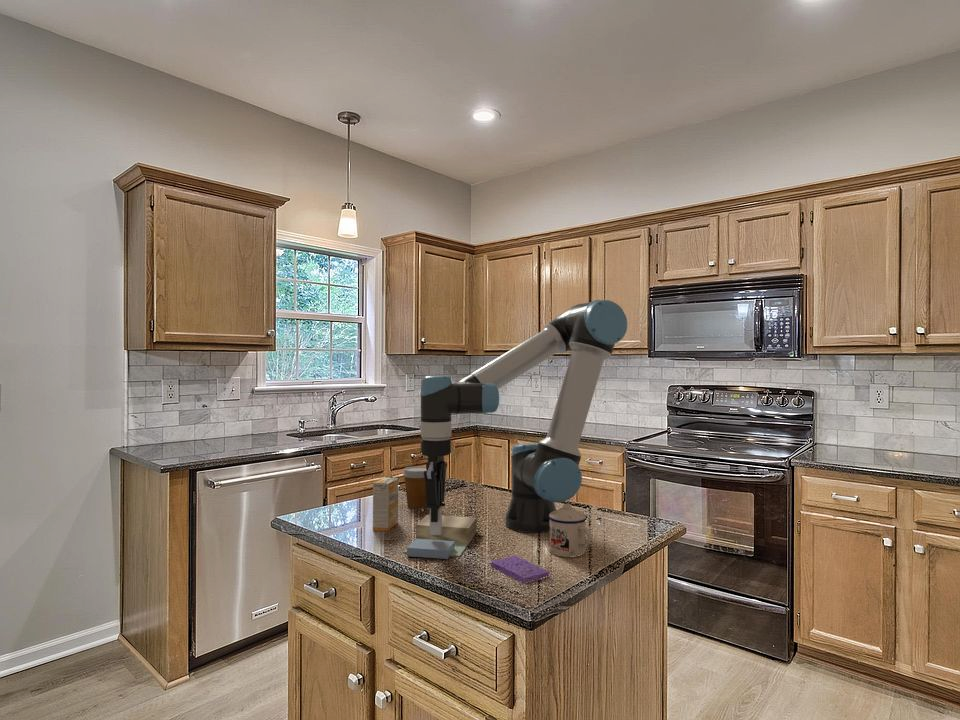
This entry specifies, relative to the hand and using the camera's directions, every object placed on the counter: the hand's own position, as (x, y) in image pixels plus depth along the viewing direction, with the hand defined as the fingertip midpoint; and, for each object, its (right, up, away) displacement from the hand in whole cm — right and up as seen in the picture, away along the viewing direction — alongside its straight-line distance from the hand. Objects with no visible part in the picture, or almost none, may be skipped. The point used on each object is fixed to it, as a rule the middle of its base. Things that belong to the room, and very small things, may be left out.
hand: (435, 533), depth 142 cm
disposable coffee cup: (-9, -4, +42) cm, 43 cm away
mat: (0, -4, +1) cm, 4 cm away
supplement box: (-15, -4, +19) cm, 25 cm away
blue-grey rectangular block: (-1, -2, -3) cm, 4 cm away
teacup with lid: (+33, -4, -3) cm, 33 cm away
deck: (+2, -4, +11) cm, 12 cm away
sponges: (+20, -5, -14) cm, 25 cm away
